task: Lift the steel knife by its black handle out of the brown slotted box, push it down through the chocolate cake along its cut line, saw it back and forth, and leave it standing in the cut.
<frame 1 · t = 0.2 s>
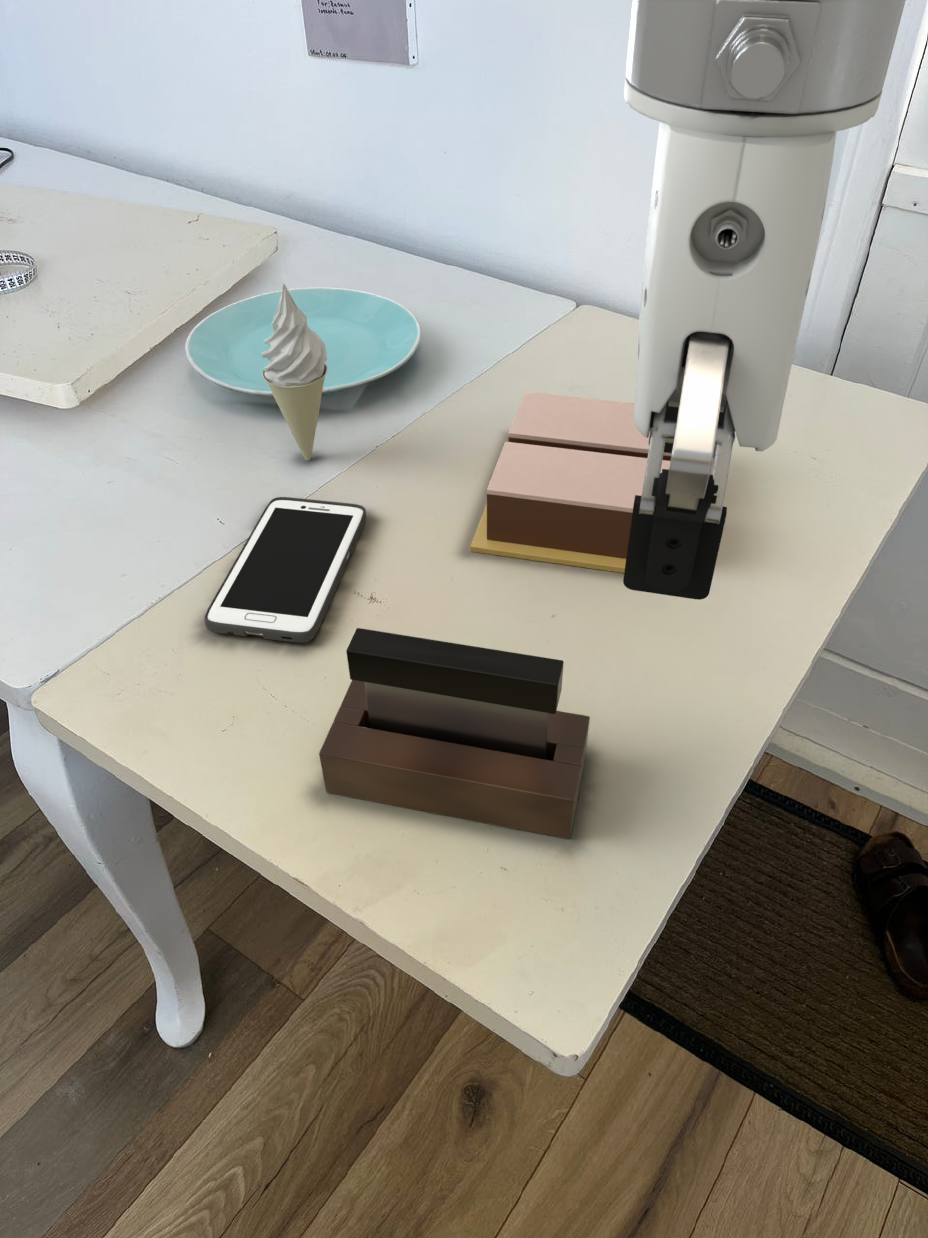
hand: (675, 514, 40), 20 cm above the table, tool pointing down, fingers open, 9 cm apart
cell phone: (292, 572, 69), on the table
cake: (593, 502, 74), on the table
ice cream cone: (308, 460, 79), on the table
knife: (455, 718, 52), in the brown slotted box
brown slotted box: (457, 773, 55), on the table
plate: (308, 362, 92), on the table
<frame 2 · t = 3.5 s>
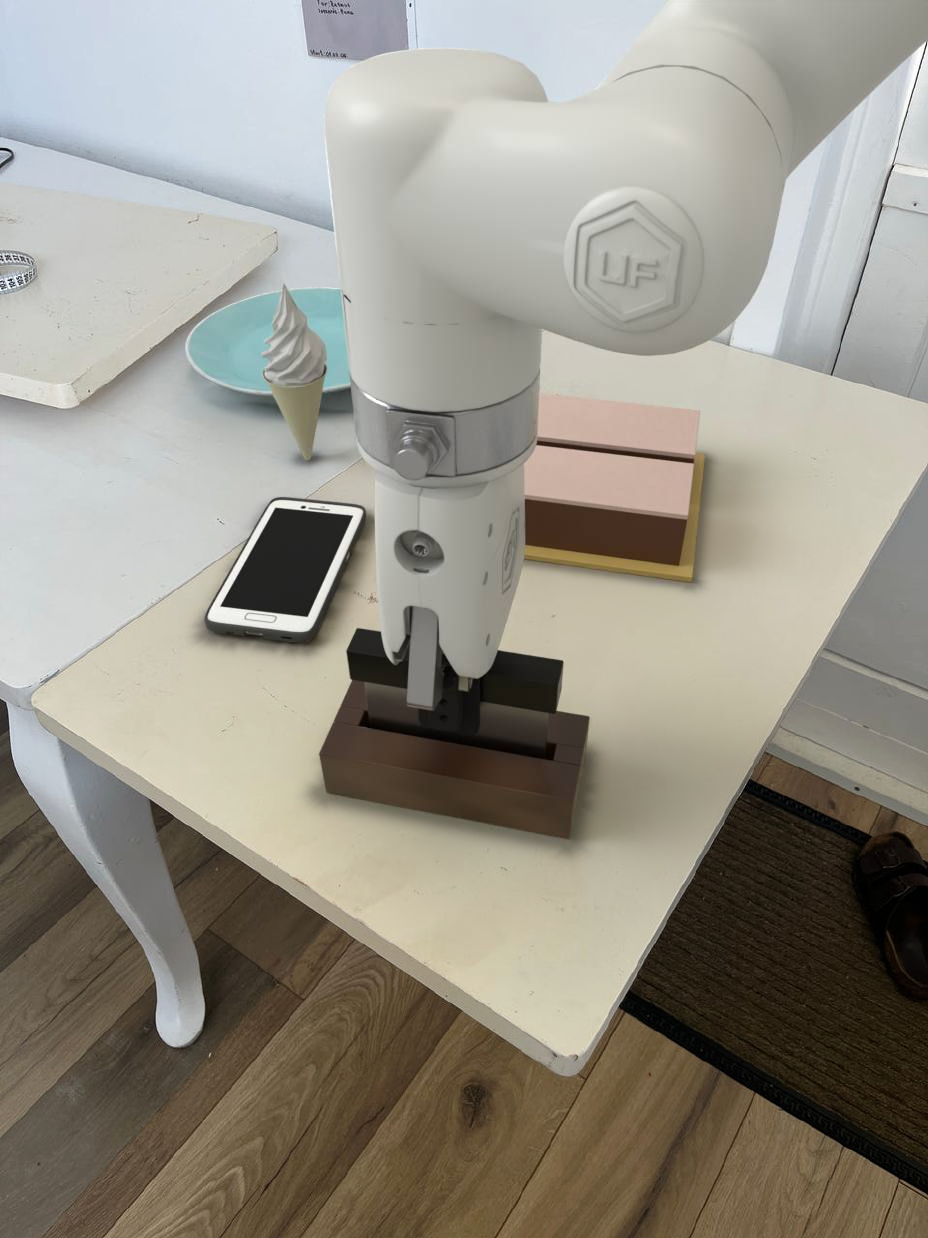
hand: (455, 707, 51), 6 cm above the table, tool pointing down, fingers closed on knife, 2 cm apart
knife: (455, 718, 52), in the brown slotted box, touching gripper
everything else where it was.
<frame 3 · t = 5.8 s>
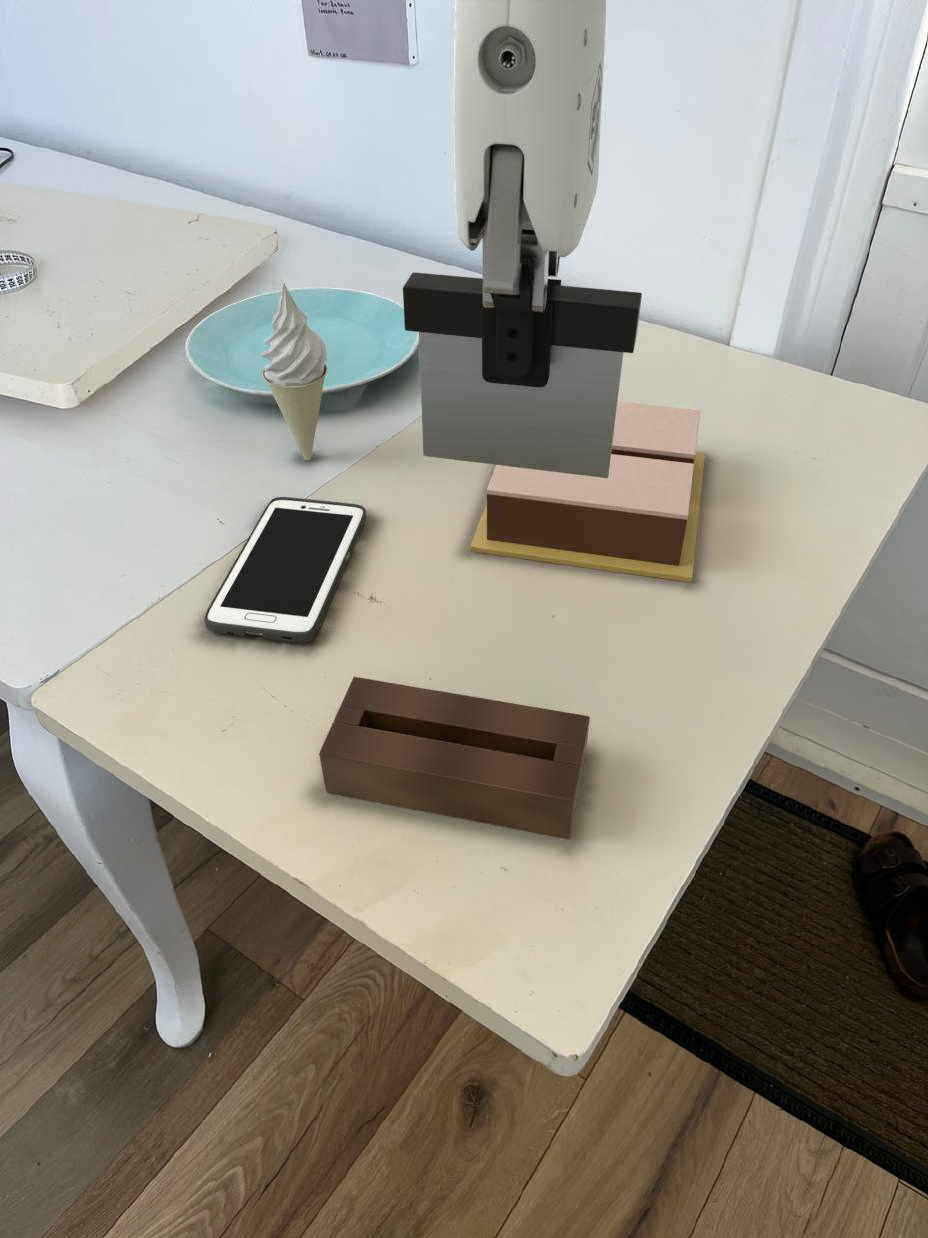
hand: (520, 366, 47), 21 cm above the table, tool pointing down, fingers closed on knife
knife: (517, 383, 48), point 20 cm above the table, touching gripper
everything else where it was.
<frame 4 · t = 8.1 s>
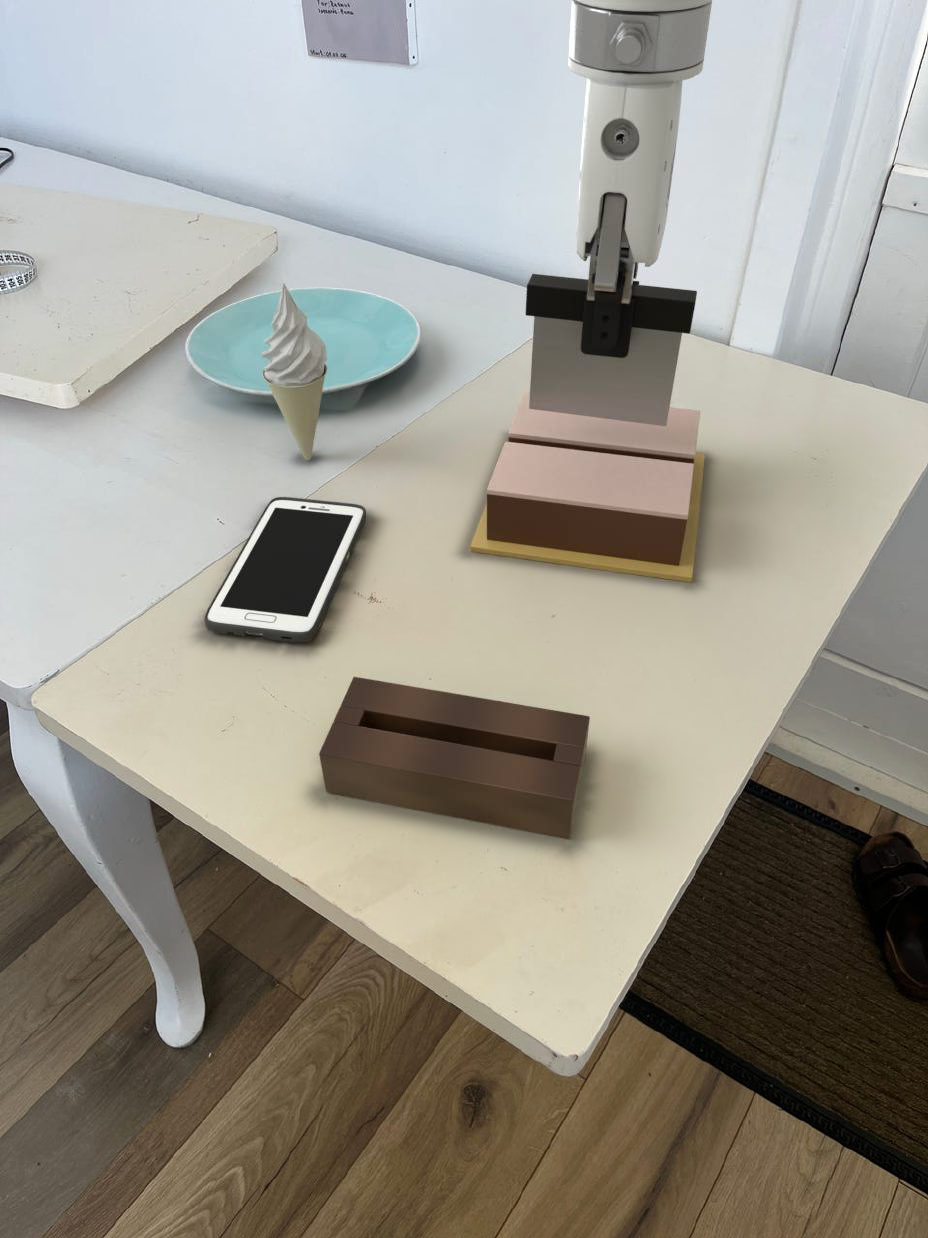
hand: (606, 343, 65), 13 cm above the table, tool pointing down, fingers closed on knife
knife: (603, 354, 66), point 12 cm above the table, touching gripper
everything else where it was.
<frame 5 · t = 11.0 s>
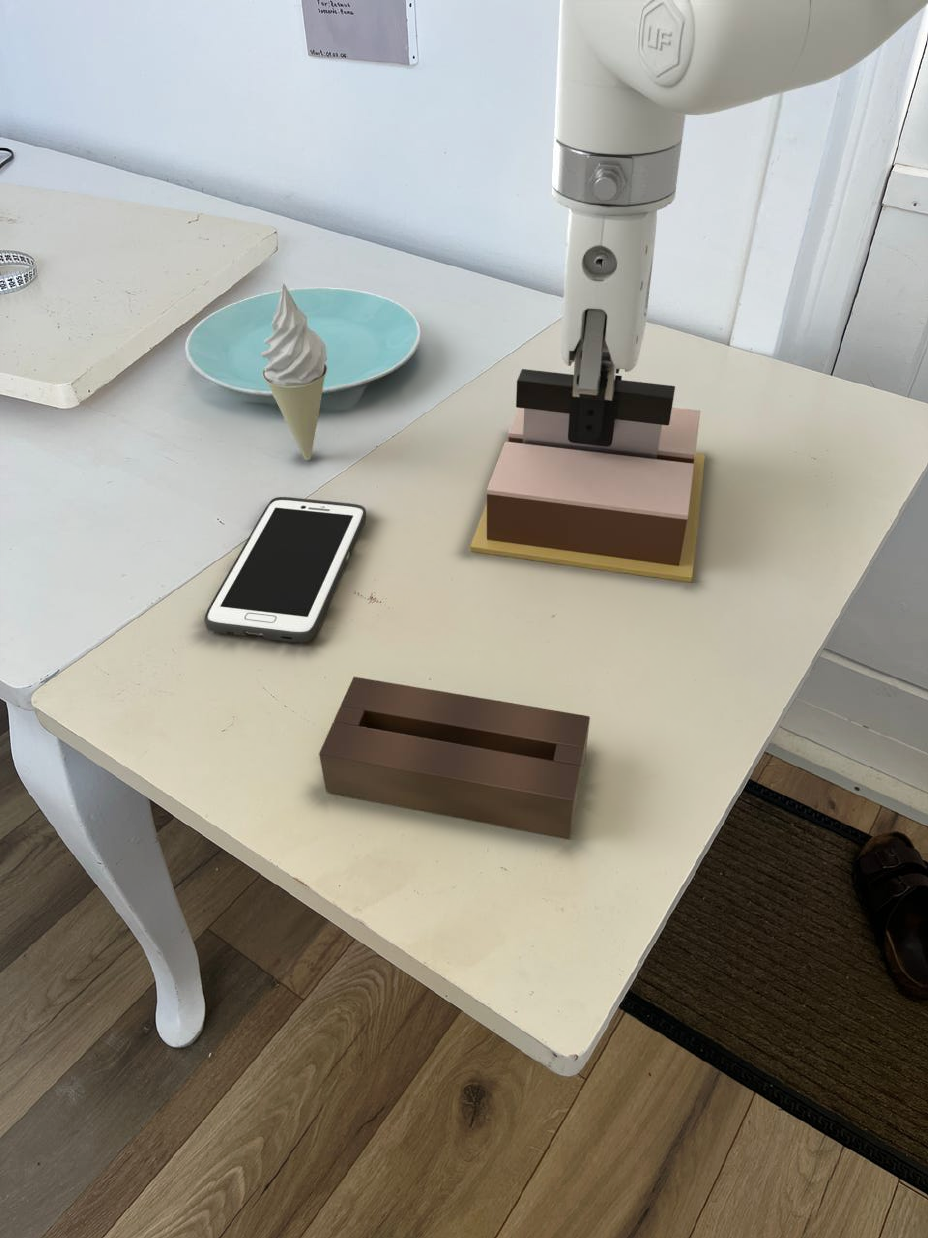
hand: (592, 431, 70), 6 cm above the table, tool pointing down, fingers closed on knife, 2 cm apart
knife: (589, 441, 70), point 6 cm above the table, touching gripper
everything else where it was.
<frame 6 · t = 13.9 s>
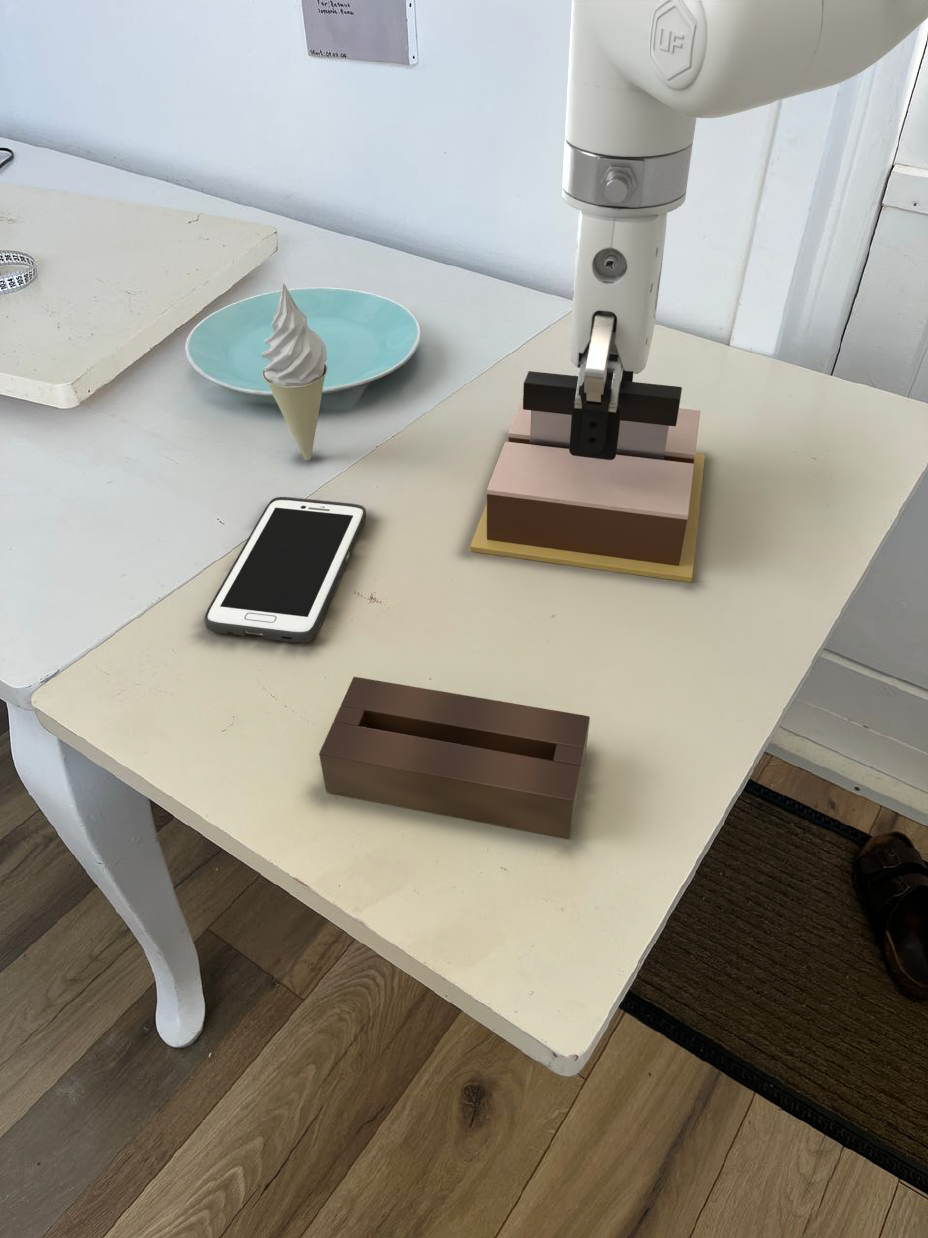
hand: (601, 419, 69), 7 cm above the table, tool pointing down, fingers open, 9 cm apart
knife: (596, 443, 71), resting on cake
everything else where it was.
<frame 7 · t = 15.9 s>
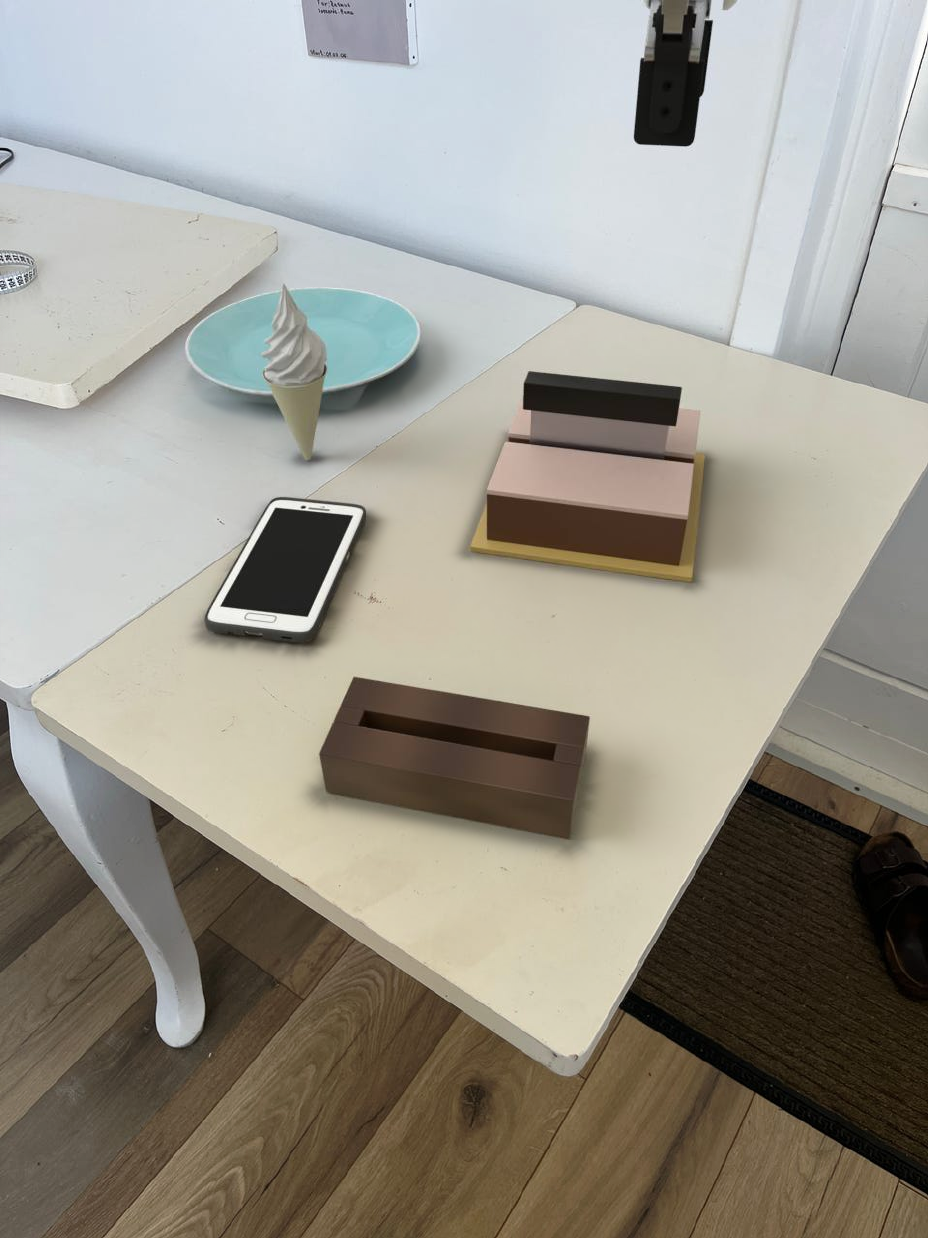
hand: (670, 118, 55), 28 cm above the table, tool pointing down, fingers open, 9 cm apart
nothing on the table moved.
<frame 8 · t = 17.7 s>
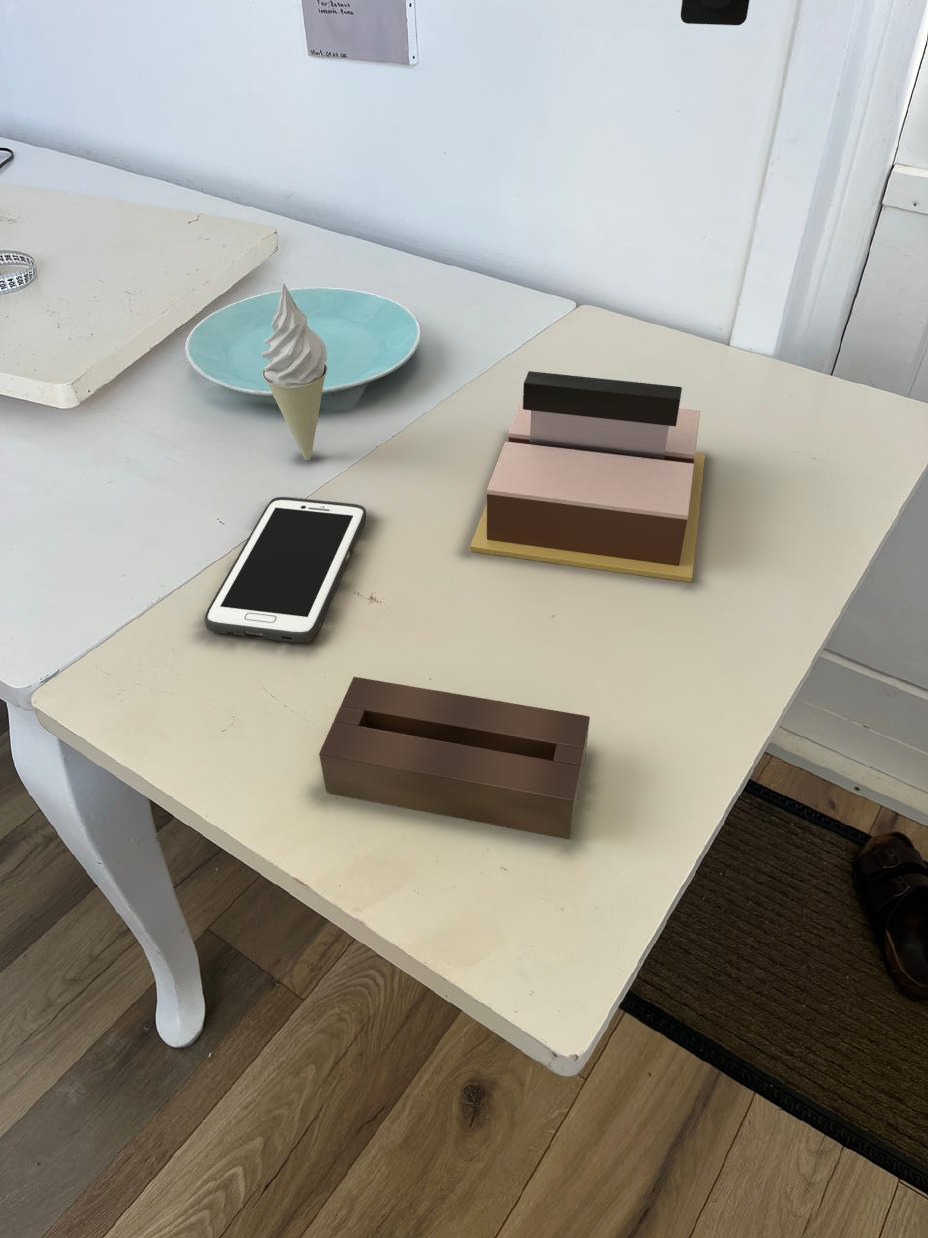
hand: (717, 2, 51), 33 cm above the table, tool pointing down, fingers open, 9 cm apart
nothing on the table moved.
at the end: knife 0.2 cm off-centre on the cake, point 5.3 cm above the cake's base; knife tilted 0°; the gripper is holding nothing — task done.
